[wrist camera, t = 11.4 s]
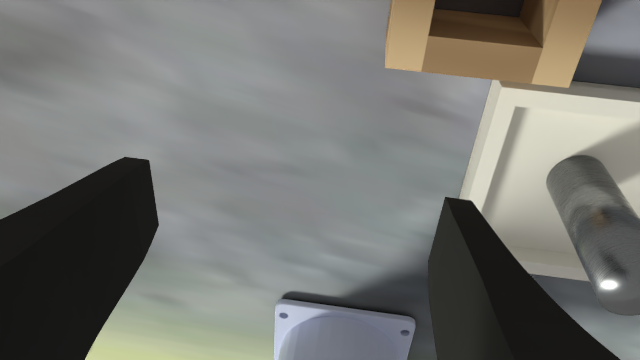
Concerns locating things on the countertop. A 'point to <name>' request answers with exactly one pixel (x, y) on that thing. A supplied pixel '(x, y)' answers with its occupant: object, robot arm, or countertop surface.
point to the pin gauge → (600, 230)
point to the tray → (548, 162)
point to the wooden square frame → (491, 40)
